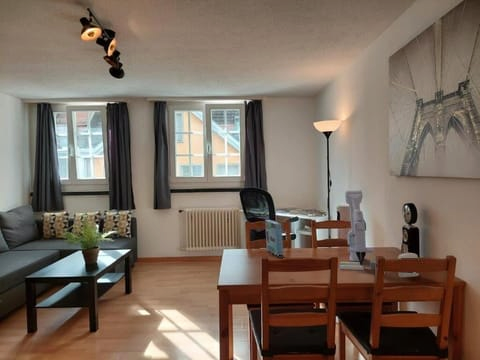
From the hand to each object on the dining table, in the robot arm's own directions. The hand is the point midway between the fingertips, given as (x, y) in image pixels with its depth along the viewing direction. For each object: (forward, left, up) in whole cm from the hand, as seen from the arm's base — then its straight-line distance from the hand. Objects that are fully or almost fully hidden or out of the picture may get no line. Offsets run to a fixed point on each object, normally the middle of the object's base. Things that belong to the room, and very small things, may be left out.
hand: (361, 264), depth 196 cm
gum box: (-28, -57, -2) cm, 64 cm away
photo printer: (+12, +23, -2) cm, 26 cm away
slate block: (0, +7, -2) cm, 7 cm away
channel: (0, -5, -2) cm, 6 cm away
